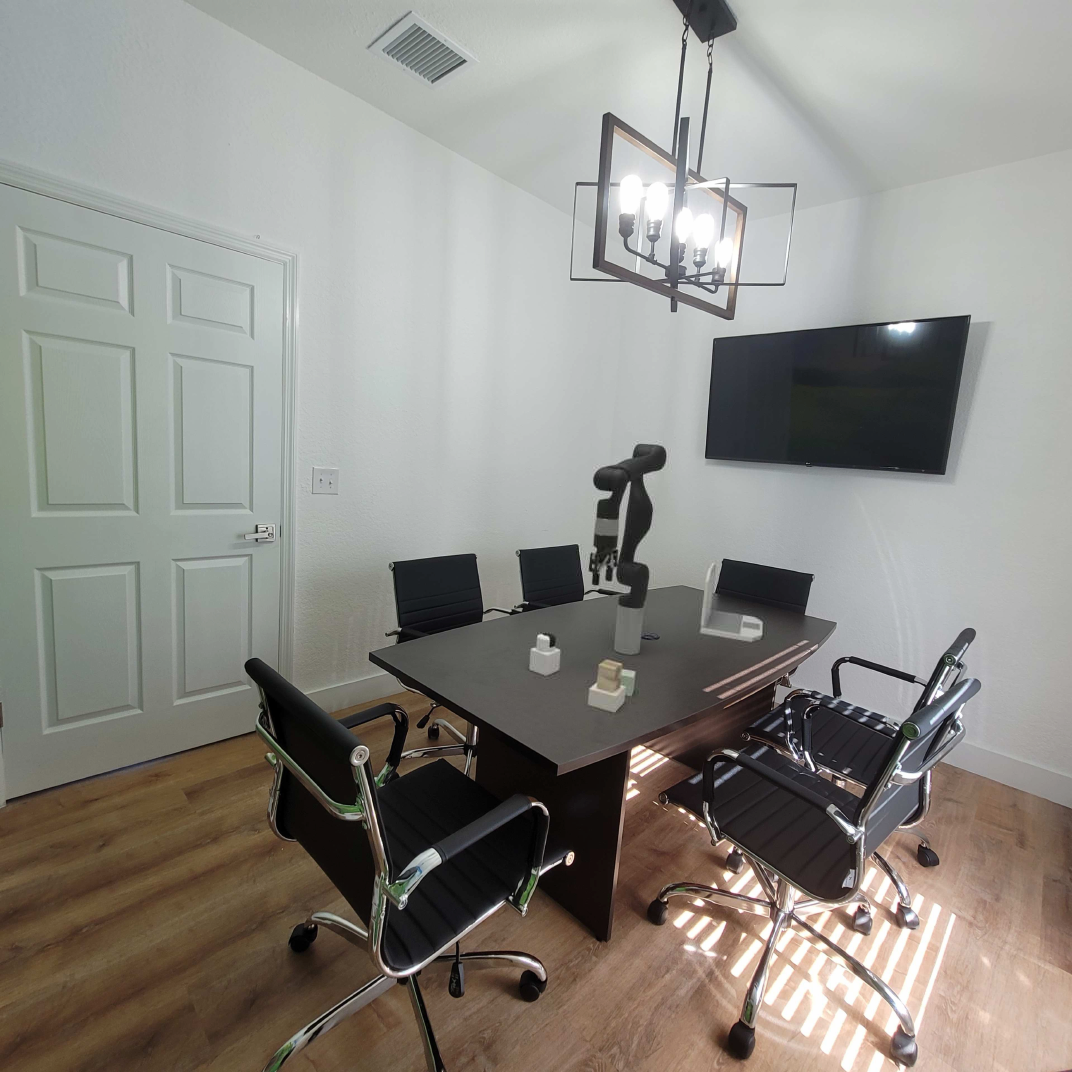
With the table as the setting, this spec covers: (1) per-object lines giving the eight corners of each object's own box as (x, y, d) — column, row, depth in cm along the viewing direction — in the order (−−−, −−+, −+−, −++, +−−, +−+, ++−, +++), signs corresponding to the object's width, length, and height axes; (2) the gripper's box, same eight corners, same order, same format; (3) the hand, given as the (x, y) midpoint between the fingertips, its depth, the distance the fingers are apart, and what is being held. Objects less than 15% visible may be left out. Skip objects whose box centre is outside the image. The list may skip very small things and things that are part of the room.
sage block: (617, 687, 168) (619, 668, 167) (633, 690, 166) (635, 671, 166) (614, 693, 163) (616, 674, 162) (631, 696, 162) (633, 677, 161)
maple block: (604, 682, 159) (606, 659, 158) (620, 687, 156) (622, 664, 155) (596, 687, 155) (598, 664, 154) (612, 693, 152) (614, 669, 151)
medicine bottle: (542, 664, 182) (544, 629, 180) (559, 670, 178) (562, 635, 176) (528, 669, 177) (531, 634, 175) (545, 676, 172) (548, 640, 170)
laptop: (761, 644, 219) (769, 580, 215) (699, 633, 228) (706, 571, 224) (762, 623, 249) (769, 566, 246) (707, 614, 259) (713, 559, 255)
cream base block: (598, 695, 161) (599, 679, 161) (624, 702, 158) (625, 686, 157) (587, 705, 154) (589, 689, 154) (614, 713, 151) (616, 696, 150)
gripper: (606, 529, 179) (602, 577, 181) (584, 532, 167) (580, 584, 170) (627, 532, 174) (622, 581, 177) (605, 536, 163) (601, 588, 165)
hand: (602, 583), depth 173 cm, fingers open, 8 cm apart
